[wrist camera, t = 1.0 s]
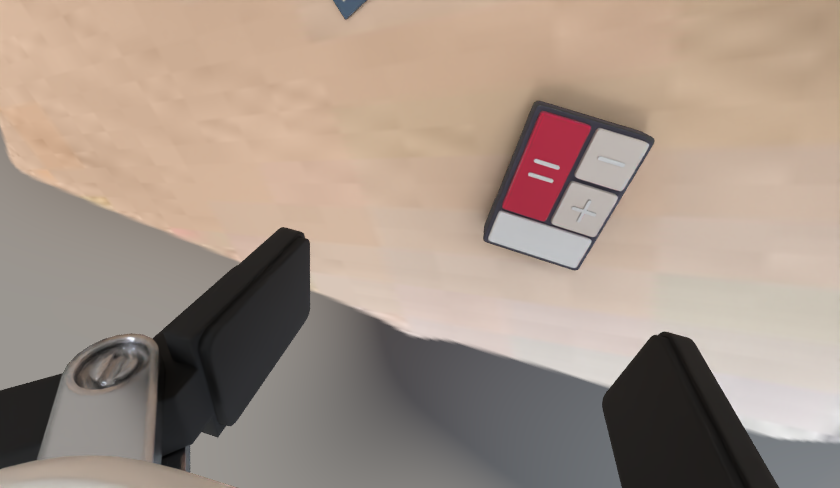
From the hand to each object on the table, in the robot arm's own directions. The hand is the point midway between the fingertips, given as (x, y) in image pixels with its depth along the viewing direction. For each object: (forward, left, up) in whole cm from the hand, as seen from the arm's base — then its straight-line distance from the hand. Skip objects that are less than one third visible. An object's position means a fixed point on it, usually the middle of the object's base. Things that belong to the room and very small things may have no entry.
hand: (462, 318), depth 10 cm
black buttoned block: (-2, +10, -31) cm, 33 cm away
